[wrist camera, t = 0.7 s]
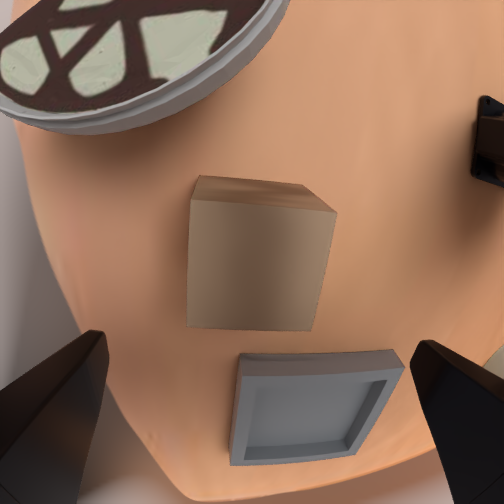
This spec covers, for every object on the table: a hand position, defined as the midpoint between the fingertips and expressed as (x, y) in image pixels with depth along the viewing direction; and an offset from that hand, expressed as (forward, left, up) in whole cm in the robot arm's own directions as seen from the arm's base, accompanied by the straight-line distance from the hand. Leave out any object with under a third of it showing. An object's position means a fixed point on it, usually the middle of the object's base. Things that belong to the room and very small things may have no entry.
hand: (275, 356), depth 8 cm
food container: (+5, -8, -12) cm, 16 cm away
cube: (0, +1, -12) cm, 12 cm away
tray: (-7, +17, -12) cm, 22 cm away
